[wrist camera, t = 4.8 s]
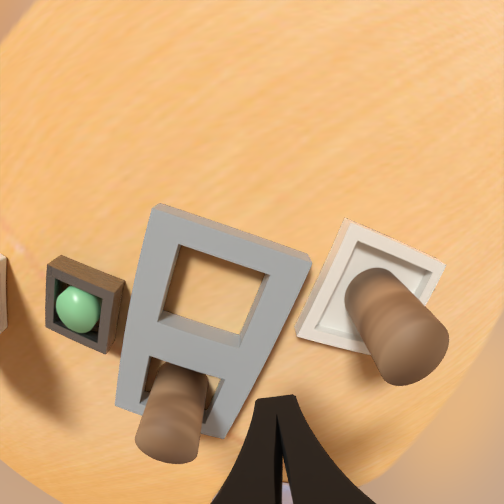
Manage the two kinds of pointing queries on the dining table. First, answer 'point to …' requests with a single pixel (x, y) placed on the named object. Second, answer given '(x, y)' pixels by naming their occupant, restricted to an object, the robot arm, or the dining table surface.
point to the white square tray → (349, 266)
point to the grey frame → (197, 334)
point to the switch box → (93, 283)
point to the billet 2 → (395, 327)
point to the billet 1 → (173, 415)
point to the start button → (78, 309)
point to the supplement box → (3, 294)
